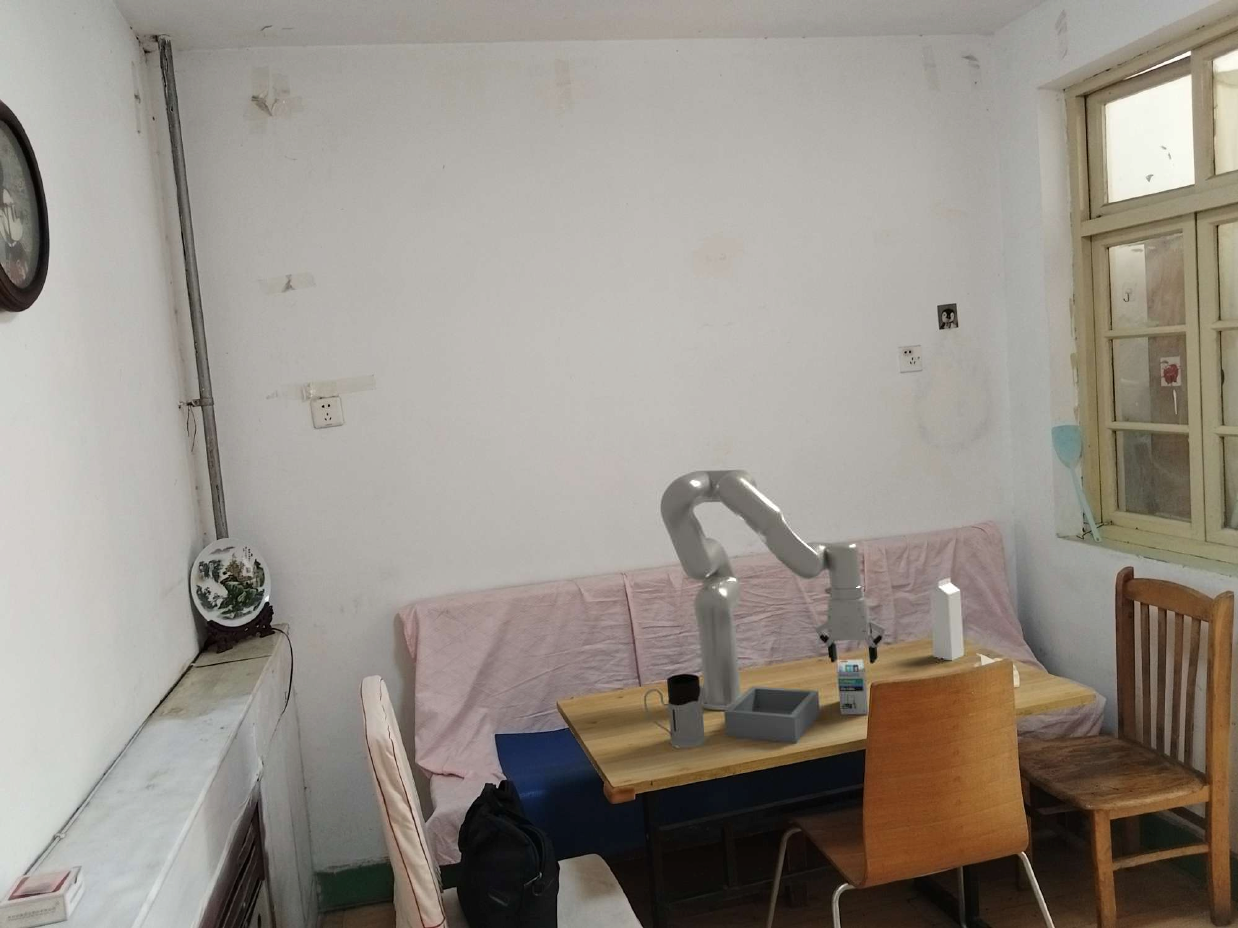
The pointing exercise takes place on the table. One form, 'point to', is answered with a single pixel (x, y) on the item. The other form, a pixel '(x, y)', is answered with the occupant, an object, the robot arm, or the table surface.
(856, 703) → the light bulb box
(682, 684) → the glass holder
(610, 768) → the table surface
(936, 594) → the milk
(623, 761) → the table surface
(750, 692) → the box
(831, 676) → the table surface
